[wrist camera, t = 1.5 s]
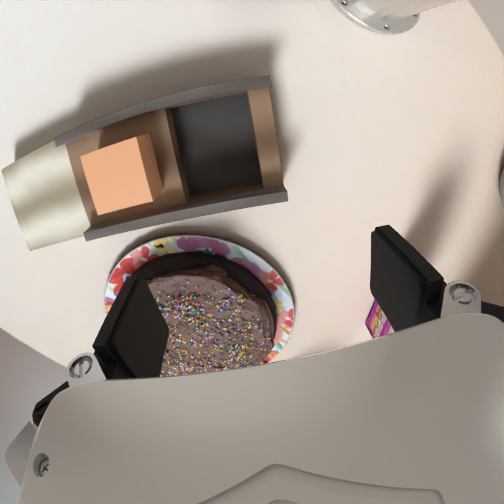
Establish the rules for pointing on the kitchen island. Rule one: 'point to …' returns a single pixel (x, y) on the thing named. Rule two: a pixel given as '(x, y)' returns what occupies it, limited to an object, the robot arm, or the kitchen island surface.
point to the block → (122, 174)
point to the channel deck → (168, 161)
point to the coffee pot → (501, 185)
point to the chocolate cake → (210, 302)
